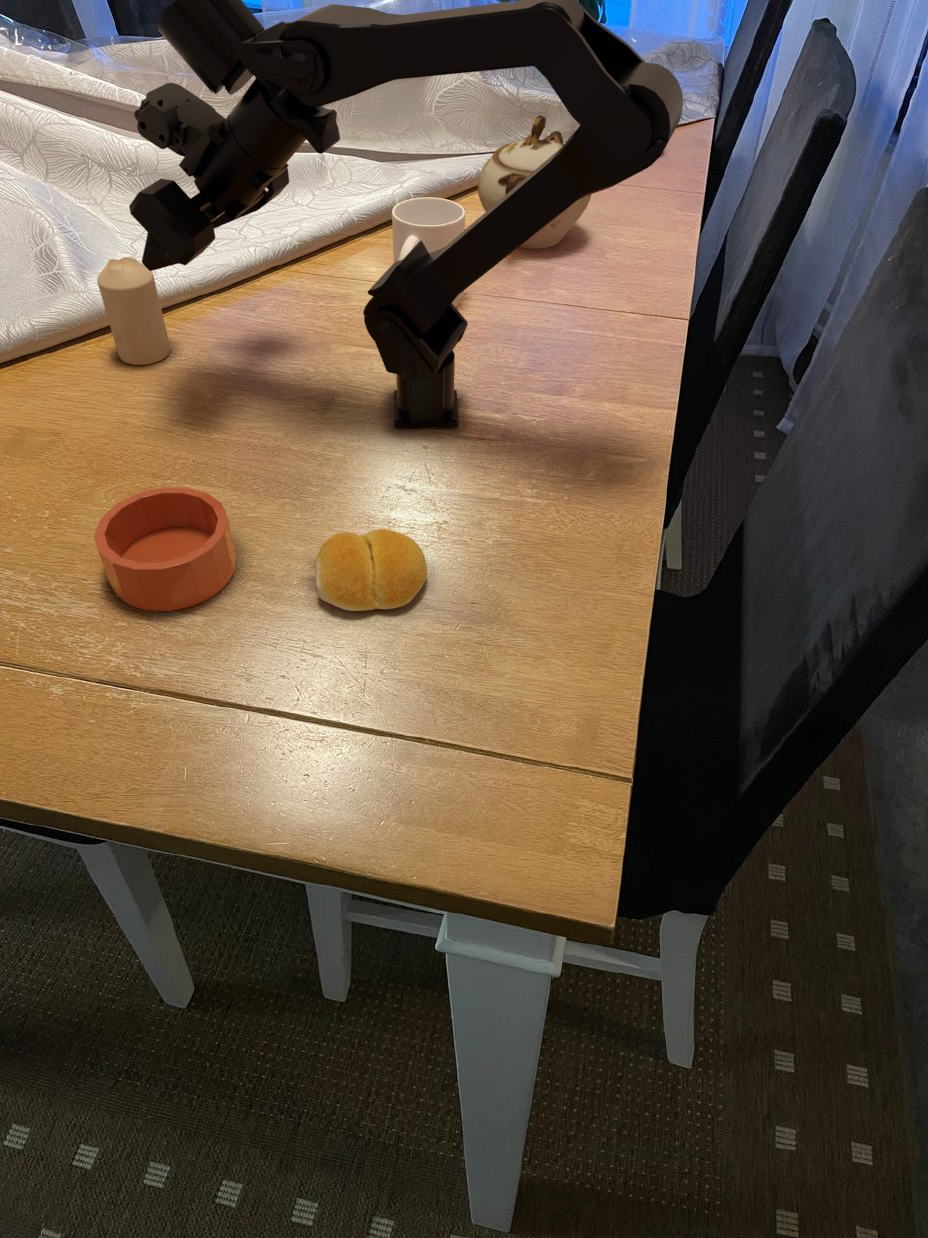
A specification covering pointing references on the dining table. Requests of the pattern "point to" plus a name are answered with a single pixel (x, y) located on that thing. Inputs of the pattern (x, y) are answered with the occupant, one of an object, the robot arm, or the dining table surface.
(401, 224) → the mug
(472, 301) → the dining table surface
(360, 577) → the bread roll
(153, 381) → the dining table surface
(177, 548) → the round reddish orange bowl
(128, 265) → the candle
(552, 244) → the sugar bowl
